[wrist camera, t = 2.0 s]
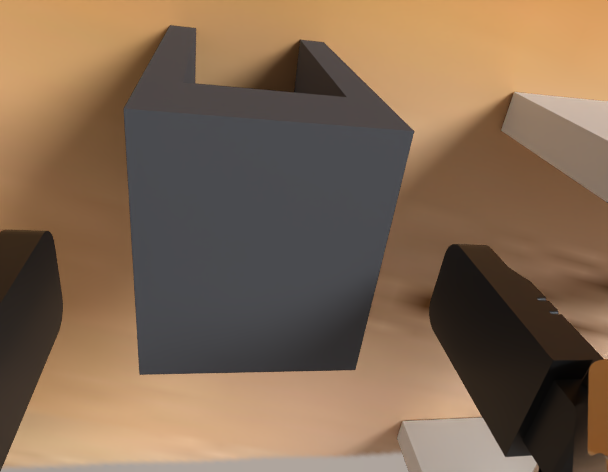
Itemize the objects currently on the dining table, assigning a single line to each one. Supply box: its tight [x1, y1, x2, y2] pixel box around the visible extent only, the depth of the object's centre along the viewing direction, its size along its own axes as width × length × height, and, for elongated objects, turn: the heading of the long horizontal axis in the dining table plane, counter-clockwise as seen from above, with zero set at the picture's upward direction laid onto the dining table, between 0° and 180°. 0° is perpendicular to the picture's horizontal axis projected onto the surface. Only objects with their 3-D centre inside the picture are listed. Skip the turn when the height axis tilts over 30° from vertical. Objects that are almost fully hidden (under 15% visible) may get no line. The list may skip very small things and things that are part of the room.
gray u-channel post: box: [124, 25, 414, 375], centre depth 14 cm, size 6×5×9 cm
